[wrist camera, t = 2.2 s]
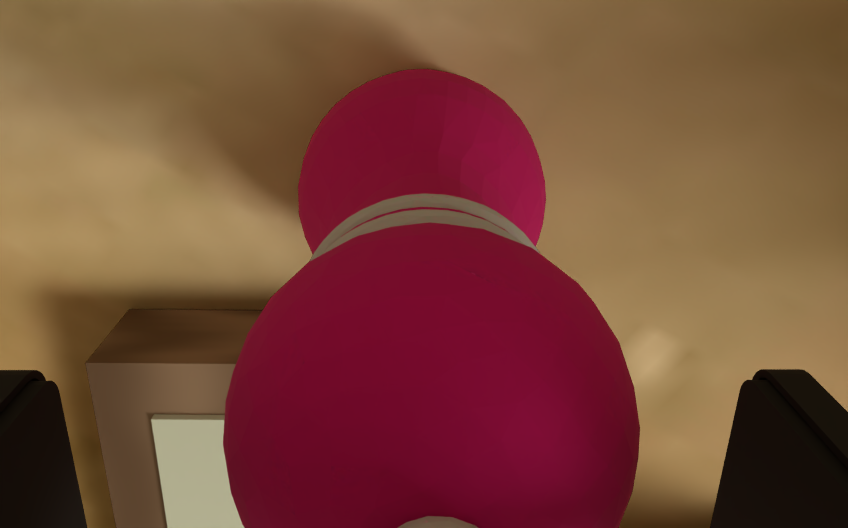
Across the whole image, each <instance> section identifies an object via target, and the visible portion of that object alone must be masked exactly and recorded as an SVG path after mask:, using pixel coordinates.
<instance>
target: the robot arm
mask: <svg viewBox="0 0 848 528" xmlns="http://www.w3.org/2000/svg"><path fill="white" fill-rule="evenodd" d="M0 528H87V524H86V519H85V514H84V509H83V504H82V500H81V495H80V490H79V485H78V480H77V475H76V471H75V466H74V461H73V456H72V451H71V446H70V442H69V437H68V432H67V427H66V422H65V417H64V413H63V408H62V403H61V398H60V393H59V390H58V387H57V385H56V384H55V383H54V382H53V381H46V379H45V377H44V376H43V374H42V373H41V372H39V371H37V370H0ZM710 528H848V412H847V411H846V410H845V409H844V408H843V407H842V406H841V405H840V404H839V403H838V402H837V401H836V400H835V399H834V398H833V397H832V396H831V395H830V394H829V393H828V392H827V391H826V390H825V389H824V388H823V387H822V386H821V385H820V384H819V383H818V382H817V381H816V380H815V379H814V378H813V377H812V376H811V375H810V374H809V373H807V372H806V371H805V370H759V371H758V372H756V374H755V375H754V377H753V379H752V380H746V381H745V382H744V383H743V384H742V386H741V389H740V393H739V397H738V402H737V406H736V411H735V415H734V420H733V425H732V429H731V434H730V438H729V443H728V448H727V452H726V457H725V461H724V466H723V471H722V475H721V480H720V484H719V489H718V494H717V498H716V503H715V507H714V512H713V517H712V521H711V526H710Z"/></svg>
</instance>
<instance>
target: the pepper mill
mask: <svg viewBox="0 0 848 528" xmlns="http://www.w3.org/2000/svg"><path fill="white" fill-rule="evenodd" d="M298 197H299V216H300V220H301V224H302V227H303V231H304V235H305V238H306V240H307V242H308V245H309V247H310V249H311V251H312V254H313V256H312V258H311V259H310V261H309V262H308V263H307V264H306V265H305V266H304V267H303V268H302V269H301V270H300V271H299V272H298V273H296V274H295V275H294V276H293V277H292V278H291V279H290V280H289V281H288V282H287V283H286V284H285V285H284V286H283V287H281V288H280V289H279V290H278V291H277V292H276V293H275V294H274V295H273V296H272V297H271V298H270V300H269V301H268V303H267V304H266V306H265V308H264V309H263V311H262V312H261V314H260V315H259V317H258V318H257V320H256V322H255V323H254V325H253V326H252V328H251V329H250V331H249V332H248V334H247V337H246V340H245V342H244V345H243V347H242V350H241V353H240V355H239V358H238V360H237V363H236V365H235V368H234V371H233V374H232V378H231V382H230V386H229V390H228V394H227V398H226V403H225V419H224V434H223V448H224V454H225V460H226V466H227V472H228V478H229V484H230V490H231V494H232V497H233V500H234V503H235V505H236V508H237V511H238V514H239V516H240V519H241V522H242V525H243V526H244V528H619V525H620V523H621V520H622V517H623V515H624V512H625V510H626V507H627V505H628V502H629V499H630V497H631V494H632V491H633V486H634V480H635V474H636V468H637V462H638V453H639V435H640V426H639V419H638V412H637V405H636V398H635V392H634V386H633V383H632V380H631V377H630V374H629V371H628V368H627V365H626V362H625V359H624V356H623V353H622V350H621V347H620V344H619V341H618V340H617V338H616V337H615V335H614V333H613V332H612V330H611V329H610V327H609V326H608V324H607V322H606V321H605V319H604V318H603V316H602V315H601V313H600V311H599V310H598V308H597V307H596V305H595V304H594V302H593V301H592V300H591V298H590V297H589V296H588V295H587V293H586V292H585V291H584V290H583V288H582V287H581V286H580V285H579V284H578V283H577V282H576V281H574V280H573V279H572V278H571V277H569V276H568V275H567V274H565V273H564V272H563V271H561V270H560V269H559V268H558V267H556V266H555V265H554V264H552V263H551V262H550V261H549V260H547V259H546V258H545V257H543V256H542V255H541V254H540V253H539V251H538V250H537V248H536V247H535V246H536V244H537V241H538V239H539V235H540V232H541V228H542V225H543V219H544V211H545V203H546V193H545V180H544V176H543V171H542V167H541V163H540V159H539V156H538V153H537V150H536V148H535V145H534V143H533V140H532V138H531V135H530V134H529V132H528V130H527V129H526V127H525V125H524V124H523V122H522V121H521V119H520V118H519V117H518V116H517V114H516V113H515V112H514V111H513V110H512V109H511V108H510V107H509V106H508V104H507V103H506V102H505V101H504V100H503V99H501V98H500V97H498V96H497V95H496V94H494V93H493V92H491V91H490V90H488V89H487V88H486V87H484V86H483V85H480V84H478V83H476V82H474V81H472V80H470V79H467V78H465V77H462V76H459V75H456V74H452V73H448V72H442V71H437V70H430V69H413V70H403V71H399V72H395V73H392V74H387V75H385V76H382V77H379V78H377V79H374V80H371V81H369V82H367V83H365V84H363V85H362V86H360V87H358V88H356V89H355V90H353V91H351V92H350V93H349V94H347V95H346V96H345V97H344V98H343V99H341V100H340V101H339V102H338V103H337V104H335V105H334V107H333V108H332V109H331V110H330V111H329V112H328V114H327V115H326V116H325V117H324V118H323V119H322V121H321V122H320V124H319V126H318V127H317V129H316V131H315V132H314V134H313V136H312V138H311V141H310V143H309V146H308V148H307V151H306V154H305V156H304V160H303V165H302V170H301V175H300V180H299V185H298Z"/></svg>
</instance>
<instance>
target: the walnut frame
mask: <svg viewBox="0 0 848 528" xmlns="http://www.w3.org/2000/svg"><path fill="white" fill-rule="evenodd" d="M261 312H262V310H155V309H129V310H128V312H127V313H126V314H125V315H124V316H123V318H122V319H121V320H120V321H119V323H118V324H117V325H116V326H115V327H114V329H113V330H112V331H111V332H110V333H109V335H108V336H107V337H106V338H105V340H104V341H103V342H102V343H101V344H100V346H99V347H98V348H97V349H96V351H95V352H94V353H93V354H92V355H91V357H90V358H89V359H88V360H87V361H86V363H85V364H86V369H87V374H88V380H89V385H90V390H91V396H92V401H93V406H94V412H95V417H96V422H97V428H98V433H99V438H100V444H101V449H102V454H103V460H104V465H105V470H106V476H107V481H108V487H109V492H110V497H111V503H112V508H113V513H114V519H115V524H116V528H244V526H243V525H242V522H241V519H240V516H239V514H238V511H237V508H236V505H235V503H234V500H233V497H232V494H231V490H230V484H229V478H228V472H227V466H226V460H225V454H224V448H223V434H224V419H225V403H226V398H227V394H228V390H229V386H230V382H231V378H232V374H233V371H234V368H235V365H236V363H237V360H238V358H239V355H240V353H241V350H242V347H243V345H244V342H245V340H246V337H247V334H248V332H249V331H250V329H251V328H252V326H253V325H254V323H255V322H256V320H257V318H258V317H259V315H260V314H261Z"/></svg>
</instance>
